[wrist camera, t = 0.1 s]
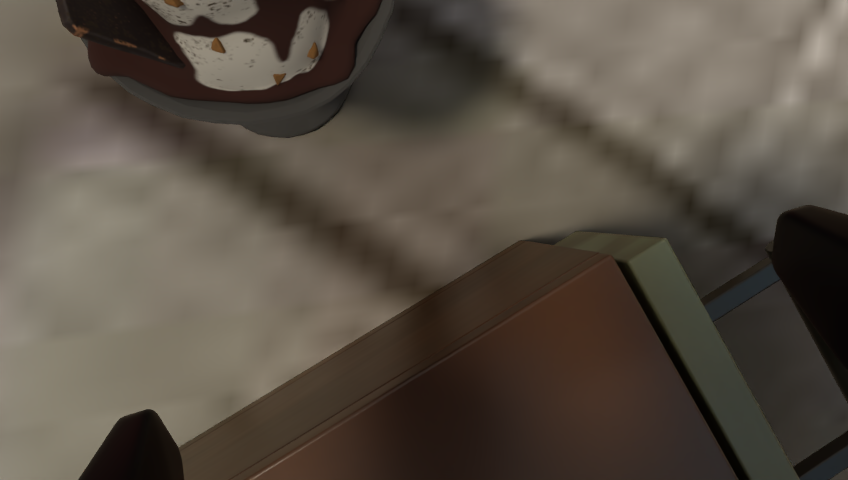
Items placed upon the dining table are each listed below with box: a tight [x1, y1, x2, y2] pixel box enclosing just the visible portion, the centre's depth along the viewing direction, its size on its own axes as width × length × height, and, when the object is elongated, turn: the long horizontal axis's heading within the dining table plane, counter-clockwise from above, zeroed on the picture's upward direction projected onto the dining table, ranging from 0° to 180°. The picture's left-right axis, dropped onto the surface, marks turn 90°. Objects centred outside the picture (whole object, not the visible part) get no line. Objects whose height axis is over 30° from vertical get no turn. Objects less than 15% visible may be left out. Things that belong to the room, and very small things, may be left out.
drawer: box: [555, 231, 848, 480], centre depth 21 cm, size 18×12×7 cm
